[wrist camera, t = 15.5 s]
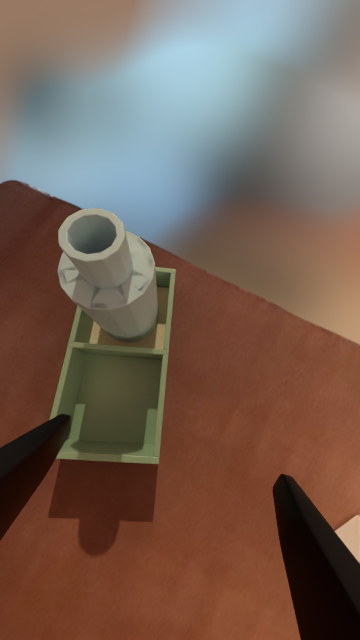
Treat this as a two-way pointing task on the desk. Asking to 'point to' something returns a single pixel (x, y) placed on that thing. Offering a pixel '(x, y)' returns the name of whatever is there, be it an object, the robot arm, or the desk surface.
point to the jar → (351, 535)
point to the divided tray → (116, 387)
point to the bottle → (109, 274)
